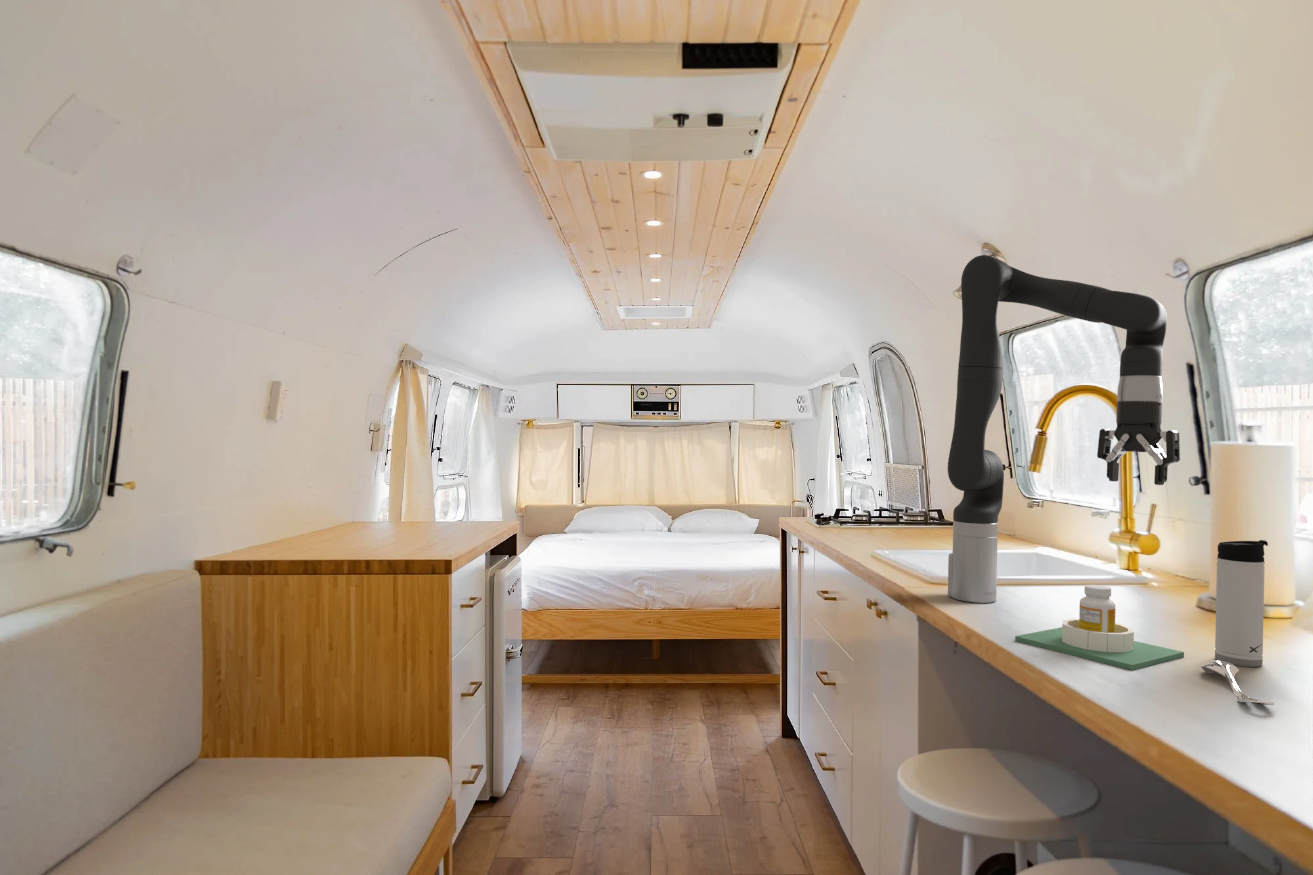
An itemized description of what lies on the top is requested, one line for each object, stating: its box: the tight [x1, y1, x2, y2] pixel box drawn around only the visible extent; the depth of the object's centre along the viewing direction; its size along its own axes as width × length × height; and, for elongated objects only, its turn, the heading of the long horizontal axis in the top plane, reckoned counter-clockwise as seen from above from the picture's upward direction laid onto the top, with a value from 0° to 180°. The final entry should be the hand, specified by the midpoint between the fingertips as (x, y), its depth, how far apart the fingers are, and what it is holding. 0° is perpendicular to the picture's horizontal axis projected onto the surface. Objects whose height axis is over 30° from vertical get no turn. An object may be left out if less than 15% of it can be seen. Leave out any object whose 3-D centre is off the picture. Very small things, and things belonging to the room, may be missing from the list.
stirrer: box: [1200, 659, 1275, 706], centre depth 114 cm, size 20×4×5 cm
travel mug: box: [1214, 539, 1269, 668], centre depth 129 cm, size 6×7×20 cm
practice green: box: [1014, 618, 1185, 671], centre depth 136 cm, size 20×16×4 cm
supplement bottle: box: [1078, 584, 1116, 633], centre depth 136 cm, size 5×5×10 cm
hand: (1135, 483), depth 155 cm, fingers open, 8 cm apart
